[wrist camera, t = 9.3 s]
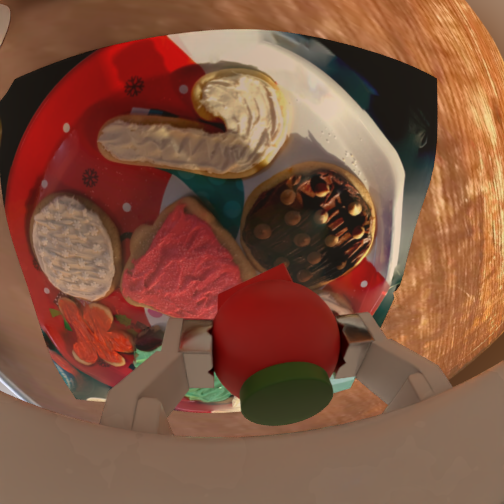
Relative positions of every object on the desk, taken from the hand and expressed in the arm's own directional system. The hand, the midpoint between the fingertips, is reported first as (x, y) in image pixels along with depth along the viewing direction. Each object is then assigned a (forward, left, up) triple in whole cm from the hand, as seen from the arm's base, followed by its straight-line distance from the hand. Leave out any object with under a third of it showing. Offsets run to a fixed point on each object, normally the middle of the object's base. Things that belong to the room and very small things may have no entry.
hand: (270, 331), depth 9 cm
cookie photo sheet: (+5, +2, -11) cm, 12 cm away
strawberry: (0, 0, -2) cm, 2 cm away
